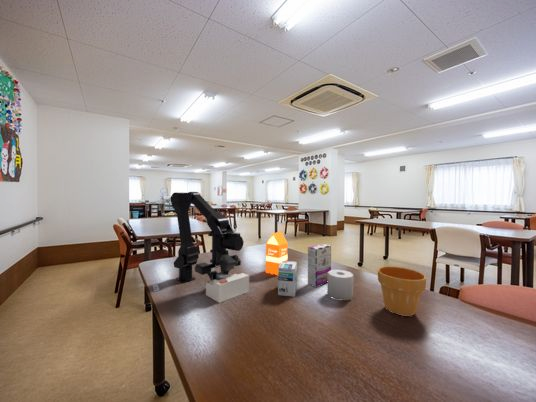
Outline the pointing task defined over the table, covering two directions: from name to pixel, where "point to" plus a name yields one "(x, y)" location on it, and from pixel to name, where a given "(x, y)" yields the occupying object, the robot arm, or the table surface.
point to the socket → (228, 287)
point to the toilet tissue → (340, 284)
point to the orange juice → (275, 252)
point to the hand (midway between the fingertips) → (218, 285)
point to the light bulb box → (287, 278)
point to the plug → (221, 276)
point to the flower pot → (401, 288)
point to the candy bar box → (319, 264)
